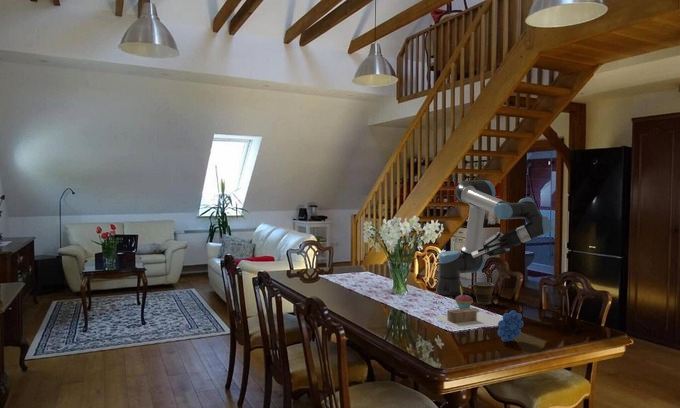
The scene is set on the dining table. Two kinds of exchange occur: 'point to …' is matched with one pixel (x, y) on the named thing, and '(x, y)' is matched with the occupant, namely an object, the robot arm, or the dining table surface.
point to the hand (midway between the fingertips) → (472, 255)
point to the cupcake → (463, 301)
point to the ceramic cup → (483, 292)
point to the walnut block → (462, 315)
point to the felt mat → (482, 320)
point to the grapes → (510, 326)
